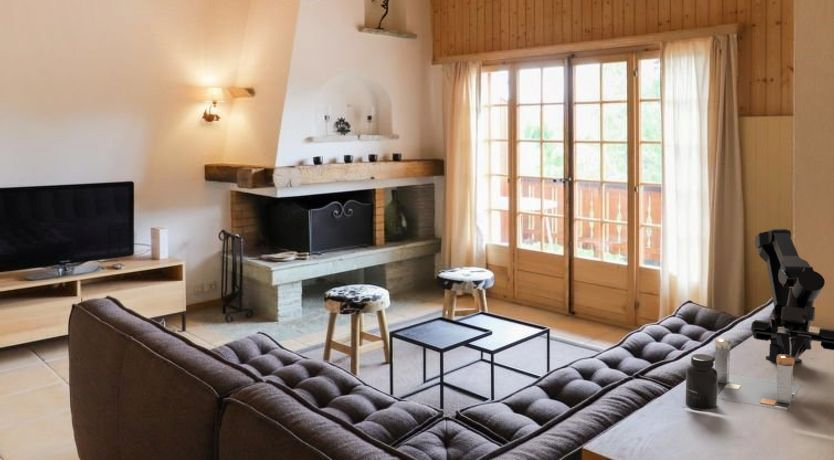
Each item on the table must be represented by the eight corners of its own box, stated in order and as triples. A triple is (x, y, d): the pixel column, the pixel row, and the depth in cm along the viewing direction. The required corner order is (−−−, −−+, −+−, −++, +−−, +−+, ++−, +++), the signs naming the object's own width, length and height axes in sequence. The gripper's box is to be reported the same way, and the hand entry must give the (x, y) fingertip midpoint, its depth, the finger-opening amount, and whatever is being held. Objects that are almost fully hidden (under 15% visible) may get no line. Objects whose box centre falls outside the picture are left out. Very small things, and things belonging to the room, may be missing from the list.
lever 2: (776, 396, 166) (778, 353, 164) (794, 399, 164) (795, 355, 162) (774, 401, 163) (775, 357, 161) (791, 404, 161) (793, 360, 159)
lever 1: (716, 377, 180) (717, 337, 178) (731, 380, 177) (732, 339, 176) (712, 382, 177) (713, 341, 175) (727, 384, 175) (728, 343, 173)
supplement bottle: (683, 409, 163) (684, 359, 161) (687, 399, 169) (688, 350, 167) (715, 414, 160) (716, 363, 158) (718, 403, 166) (719, 354, 164)
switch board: (722, 375, 184) (722, 372, 183) (800, 387, 173) (800, 384, 173) (703, 397, 169) (703, 394, 169) (787, 413, 159) (787, 409, 159)
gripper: (753, 288, 175) (742, 343, 168) (840, 297, 164) (832, 356, 157) (759, 311, 183) (748, 364, 176) (843, 320, 172) (835, 378, 165)
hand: (789, 365), depth 168 cm, fingers closed
